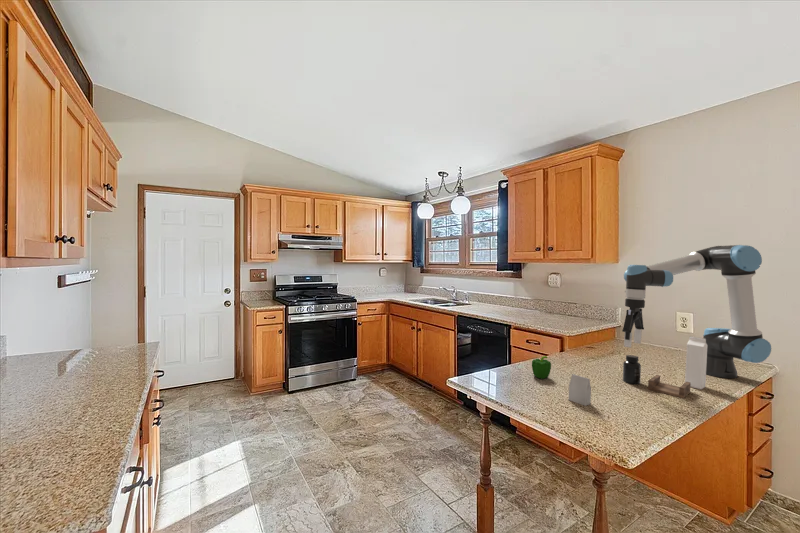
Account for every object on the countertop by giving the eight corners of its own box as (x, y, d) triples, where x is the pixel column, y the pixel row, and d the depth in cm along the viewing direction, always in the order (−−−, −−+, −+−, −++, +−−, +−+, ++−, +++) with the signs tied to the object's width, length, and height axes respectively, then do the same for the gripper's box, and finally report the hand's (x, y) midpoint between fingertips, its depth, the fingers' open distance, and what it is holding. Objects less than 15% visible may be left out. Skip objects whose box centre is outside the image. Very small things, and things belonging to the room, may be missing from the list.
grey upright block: (585, 405, 138) (586, 379, 138) (568, 399, 144) (569, 374, 143) (590, 403, 140) (591, 378, 140) (573, 398, 146) (574, 373, 146)
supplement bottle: (637, 380, 170) (639, 355, 169) (642, 385, 163) (643, 358, 163) (620, 378, 172) (622, 353, 171) (624, 383, 165) (625, 357, 165)
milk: (701, 389, 160) (704, 339, 159) (684, 385, 165) (687, 337, 164) (705, 386, 164) (708, 338, 163) (688, 382, 169) (691, 335, 168)
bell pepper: (530, 378, 168) (531, 357, 168) (531, 373, 176) (532, 352, 176) (550, 381, 165) (551, 359, 165) (550, 376, 173) (551, 355, 173)
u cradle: (655, 383, 166) (656, 374, 166) (690, 391, 157) (690, 382, 157) (647, 389, 158) (648, 380, 158) (683, 398, 149) (684, 388, 149)
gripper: (634, 296, 177) (632, 340, 178) (616, 298, 161) (613, 346, 161) (652, 298, 172) (650, 343, 172) (635, 300, 155) (632, 350, 156)
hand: (632, 345), depth 167 cm, fingers open, 13 cm apart
